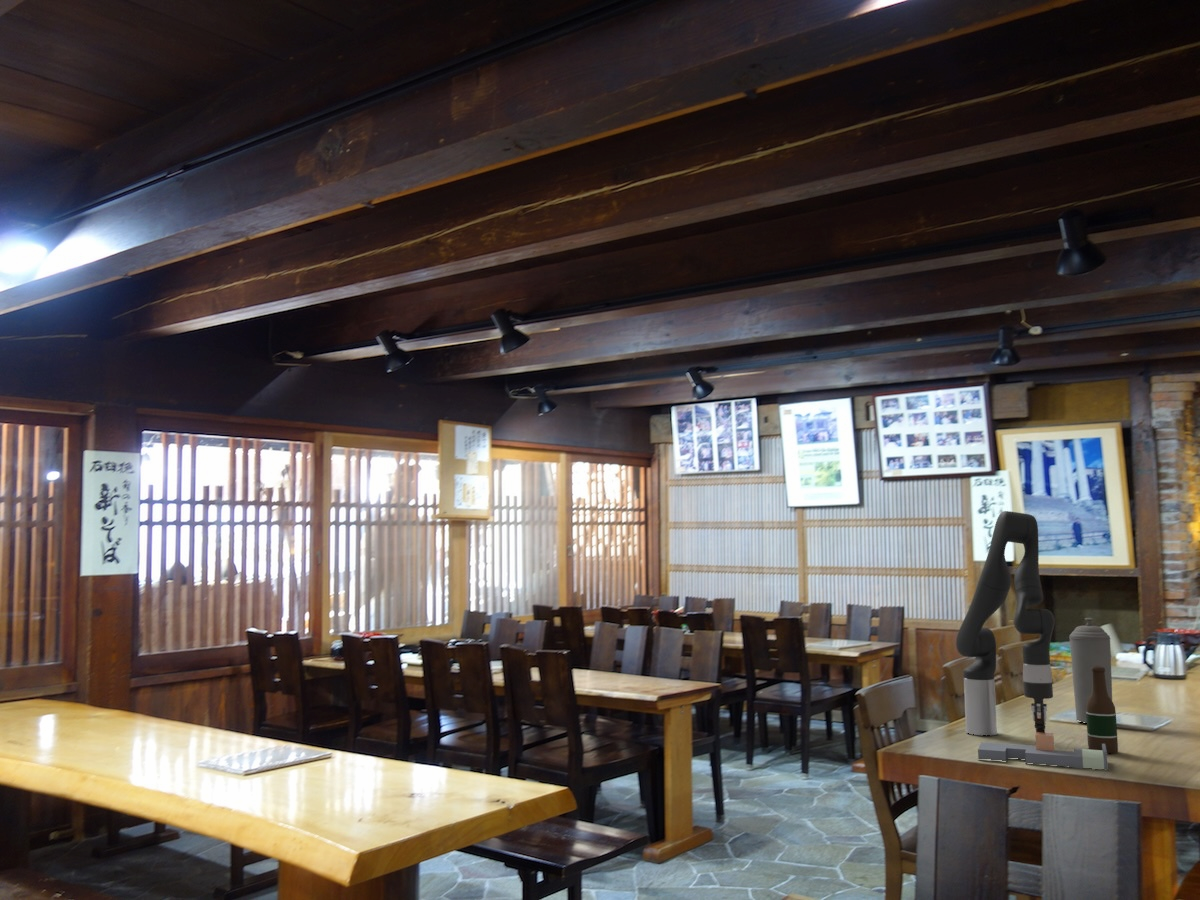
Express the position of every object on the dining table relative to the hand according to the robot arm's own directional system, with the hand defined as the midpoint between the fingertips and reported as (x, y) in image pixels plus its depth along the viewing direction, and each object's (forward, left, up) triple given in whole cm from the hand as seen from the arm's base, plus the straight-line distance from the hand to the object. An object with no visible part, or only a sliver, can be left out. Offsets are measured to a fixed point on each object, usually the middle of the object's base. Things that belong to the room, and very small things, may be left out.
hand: (1041, 742), depth 275 cm
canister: (-68, +15, -4) cm, 69 cm away
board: (+7, 0, -4) cm, 8 cm away
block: (+5, +1, -1) cm, 5 cm away
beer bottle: (-15, +16, -4) cm, 22 cm away
